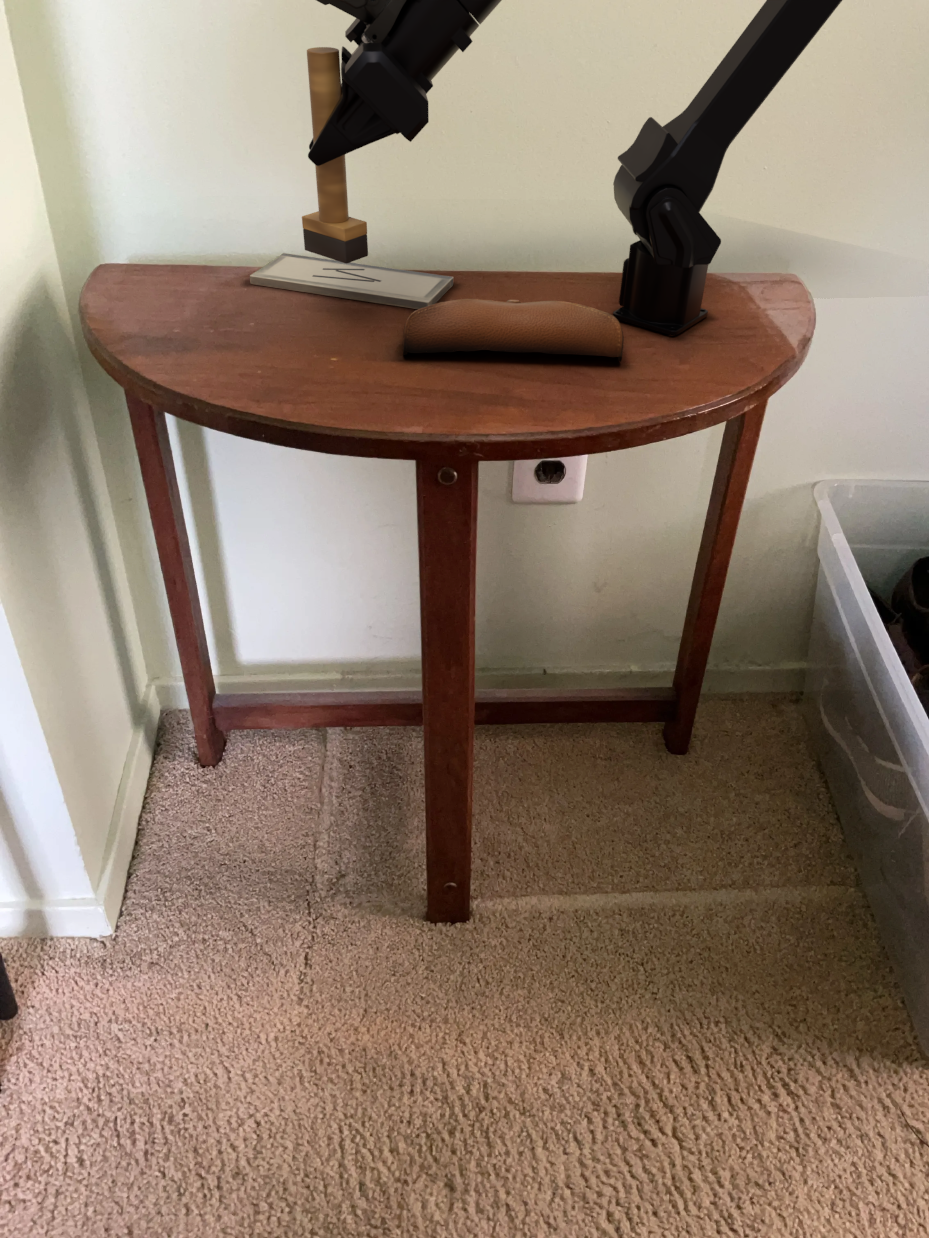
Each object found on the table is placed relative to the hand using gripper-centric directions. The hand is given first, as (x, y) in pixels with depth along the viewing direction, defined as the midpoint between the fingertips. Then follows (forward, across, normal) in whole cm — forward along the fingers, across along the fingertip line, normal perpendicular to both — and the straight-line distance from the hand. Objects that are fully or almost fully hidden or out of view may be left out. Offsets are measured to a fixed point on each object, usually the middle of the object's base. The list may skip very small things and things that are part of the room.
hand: (312, 156), depth 78 cm
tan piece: (+4, 0, +6) cm, 8 cm away
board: (+8, -10, +11) cm, 17 cm away
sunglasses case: (-1, +6, +21) cm, 22 cm away
